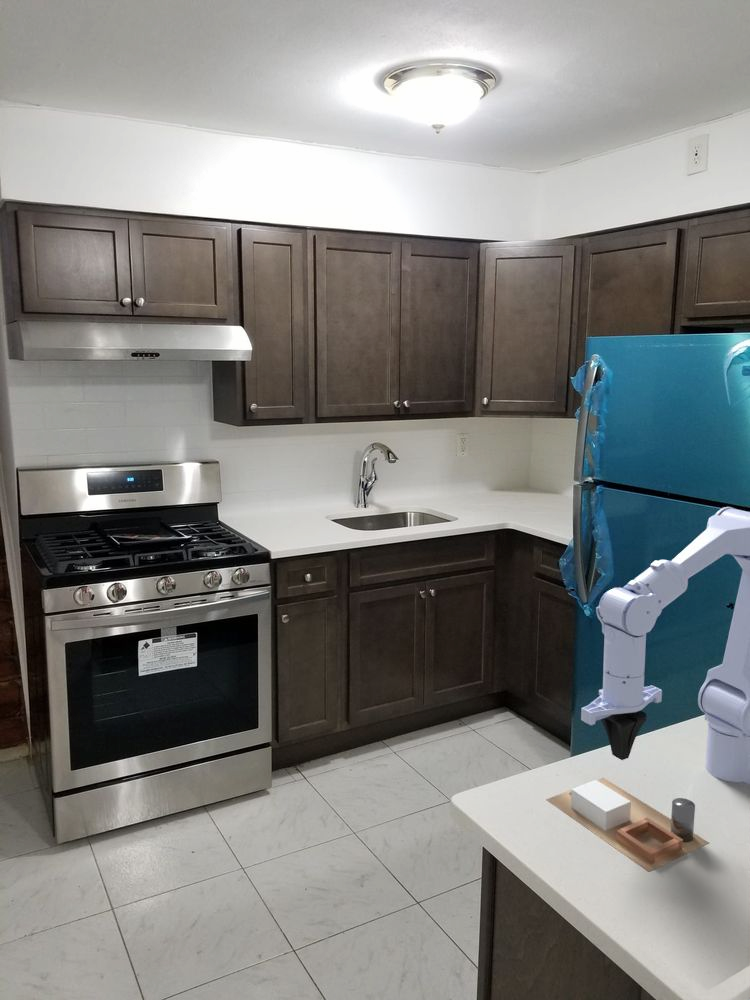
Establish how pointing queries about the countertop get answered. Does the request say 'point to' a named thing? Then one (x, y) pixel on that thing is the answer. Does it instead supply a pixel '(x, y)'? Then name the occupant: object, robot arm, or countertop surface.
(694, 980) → the countertop surface
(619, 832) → the board
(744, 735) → the robot arm
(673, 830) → the grey metal cylinder
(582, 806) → the plain white cuboid
